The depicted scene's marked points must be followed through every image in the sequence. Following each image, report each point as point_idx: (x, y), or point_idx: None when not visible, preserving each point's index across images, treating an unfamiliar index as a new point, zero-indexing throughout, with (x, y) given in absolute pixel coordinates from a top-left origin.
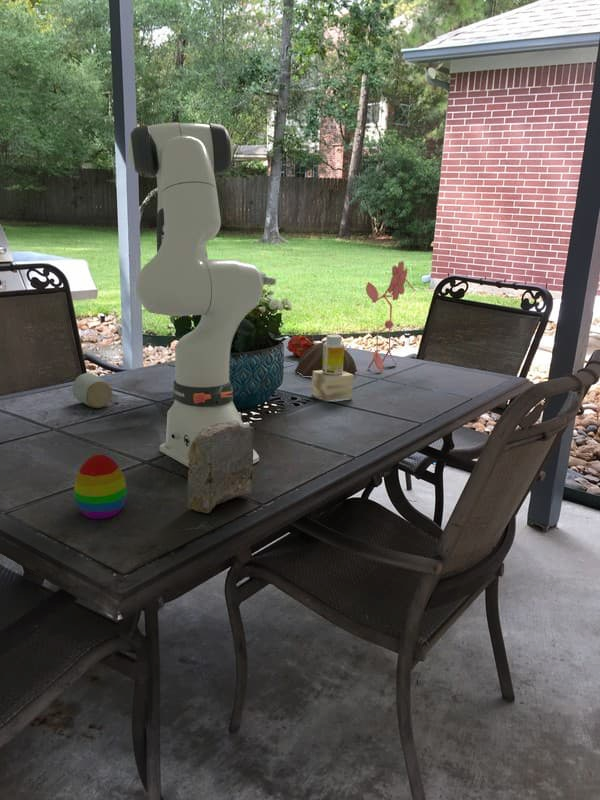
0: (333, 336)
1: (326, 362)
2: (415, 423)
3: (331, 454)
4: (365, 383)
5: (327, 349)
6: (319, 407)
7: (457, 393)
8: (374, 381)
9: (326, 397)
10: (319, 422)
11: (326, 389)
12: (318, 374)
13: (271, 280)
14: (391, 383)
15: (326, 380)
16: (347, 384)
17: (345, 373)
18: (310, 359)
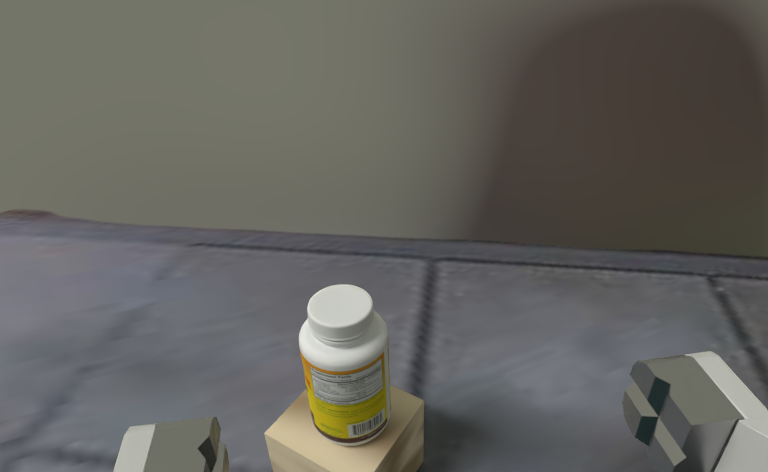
0: (355, 301)
1: (389, 389)
2: (440, 266)
3: (743, 304)
4: (98, 465)
5: (387, 349)
6: (482, 459)
7: (153, 268)
8: (58, 451)
9: (420, 453)
10: (605, 398)
11: (419, 437)
12: (387, 455)
13: (213, 456)
14: (78, 401)
15: (418, 417)
16: None
17: None
18: None
